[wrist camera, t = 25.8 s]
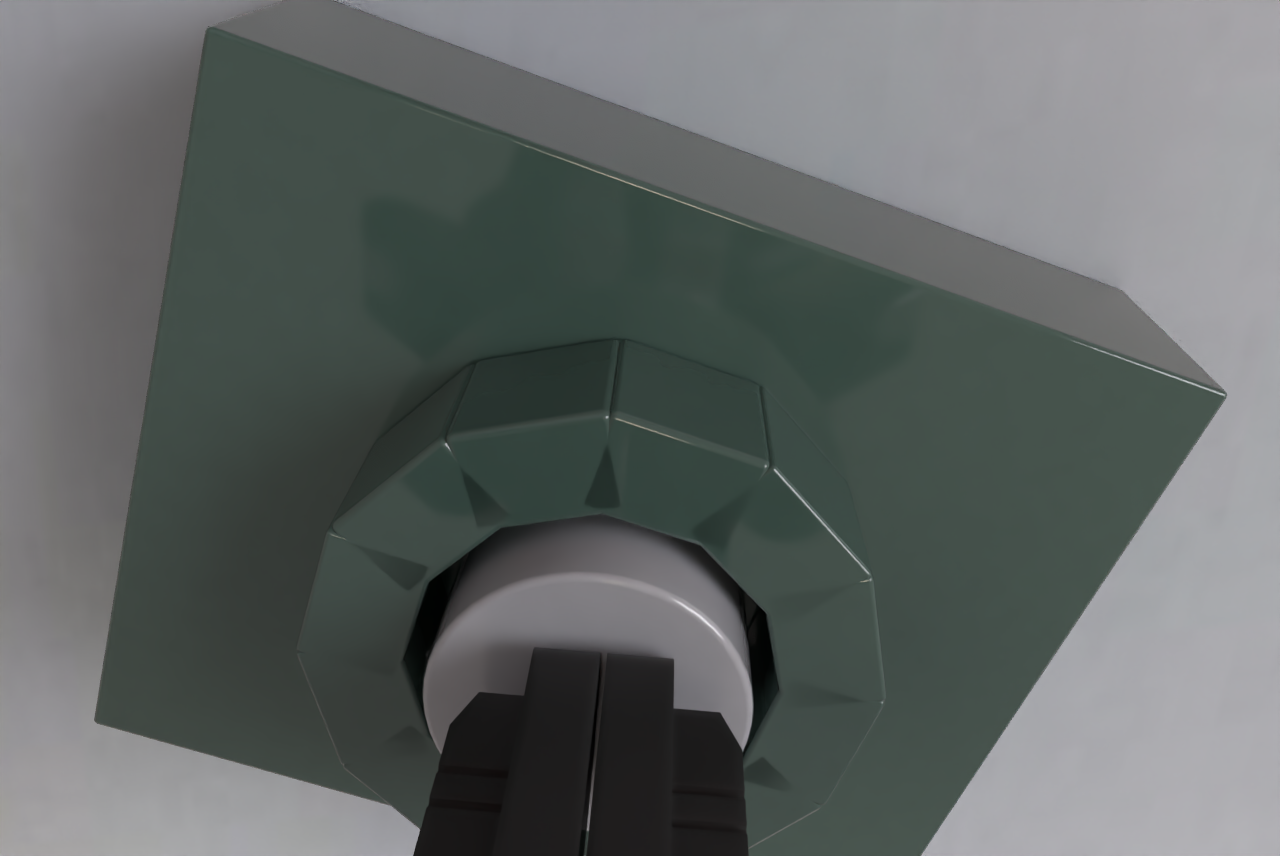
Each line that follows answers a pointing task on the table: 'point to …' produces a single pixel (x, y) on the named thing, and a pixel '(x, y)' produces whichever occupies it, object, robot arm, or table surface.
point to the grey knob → (590, 617)
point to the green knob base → (605, 425)
